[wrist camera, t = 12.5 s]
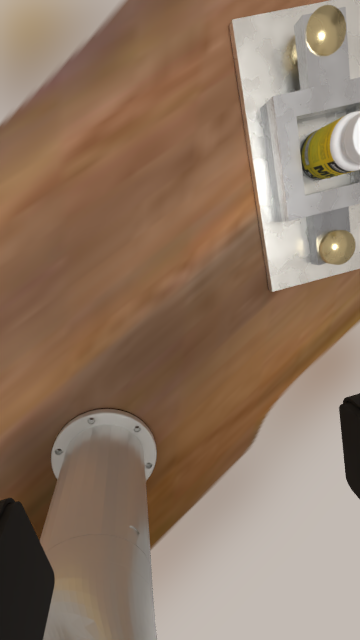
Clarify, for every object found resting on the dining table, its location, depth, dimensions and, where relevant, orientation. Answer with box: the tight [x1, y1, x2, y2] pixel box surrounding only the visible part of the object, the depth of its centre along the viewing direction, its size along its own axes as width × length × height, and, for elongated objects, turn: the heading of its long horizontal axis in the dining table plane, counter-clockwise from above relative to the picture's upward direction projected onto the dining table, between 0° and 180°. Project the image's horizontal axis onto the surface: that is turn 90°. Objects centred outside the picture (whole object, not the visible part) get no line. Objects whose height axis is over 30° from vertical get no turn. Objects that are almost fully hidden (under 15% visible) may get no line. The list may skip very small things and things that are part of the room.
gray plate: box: [229, 0, 360, 292], centre depth 33 cm, size 26×14×4 cm, turn 13°
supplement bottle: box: [300, 111, 360, 180], centre depth 30 cm, size 5×5×8 cm
